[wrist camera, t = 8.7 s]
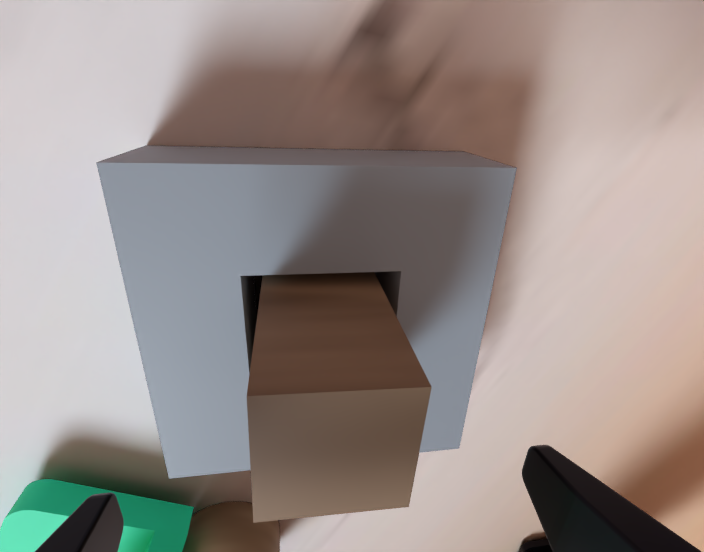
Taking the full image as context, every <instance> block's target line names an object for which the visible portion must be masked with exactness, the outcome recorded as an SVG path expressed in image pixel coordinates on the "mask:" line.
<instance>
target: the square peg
mask: <svg viewBox="0 0 704 552" xmlns="http://www.w3.org/2000/svg"><path fill="white" fill-rule="evenodd" d="M431 388H432V387H431V385H430V383H429V381H428V379H427V377H426V375H425V373H424V371H423V369H422V367H421V365H420V363H419V361H418V359H417V357H416V355H415V353H414V351H413V349H412V347H411V345H410V343H409V341H408V339H407V337H406V335H405V333H404V331H403V329H402V327H401V325H400V323H399V321H398V319H397V317H396V315H395V313H394V311H393V309H392V307H391V305H390V303H389V301H388V299H387V297H386V295H385V293H384V291H383V289H382V287H381V285H380V283H379V281H378V279H377V277H376V275H375V273H374V272H356V273H323V274H289V275H263V277H262V285H261V292H260V300H259V307H258V315H257V322H256V330H255V337H254V344H253V352H252V359H251V367H250V374H249V382H248V389H247V413H248V432H249V450H250V469H251V487H252V506H253V523H256V522H265V521H275V520H285V519H295V518H304V517H314V516H324V515H333V514H343V513H353V512H363V511H372V510H382V509H392V508H401V507H409V502H410V497H411V492H412V487H413V482H414V476H415V471H416V466H417V461H418V456H419V451H420V445H421V440H422V435H423V430H424V425H425V419H426V414H427V409H428V404H429V399H430V393H431Z"/></svg>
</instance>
